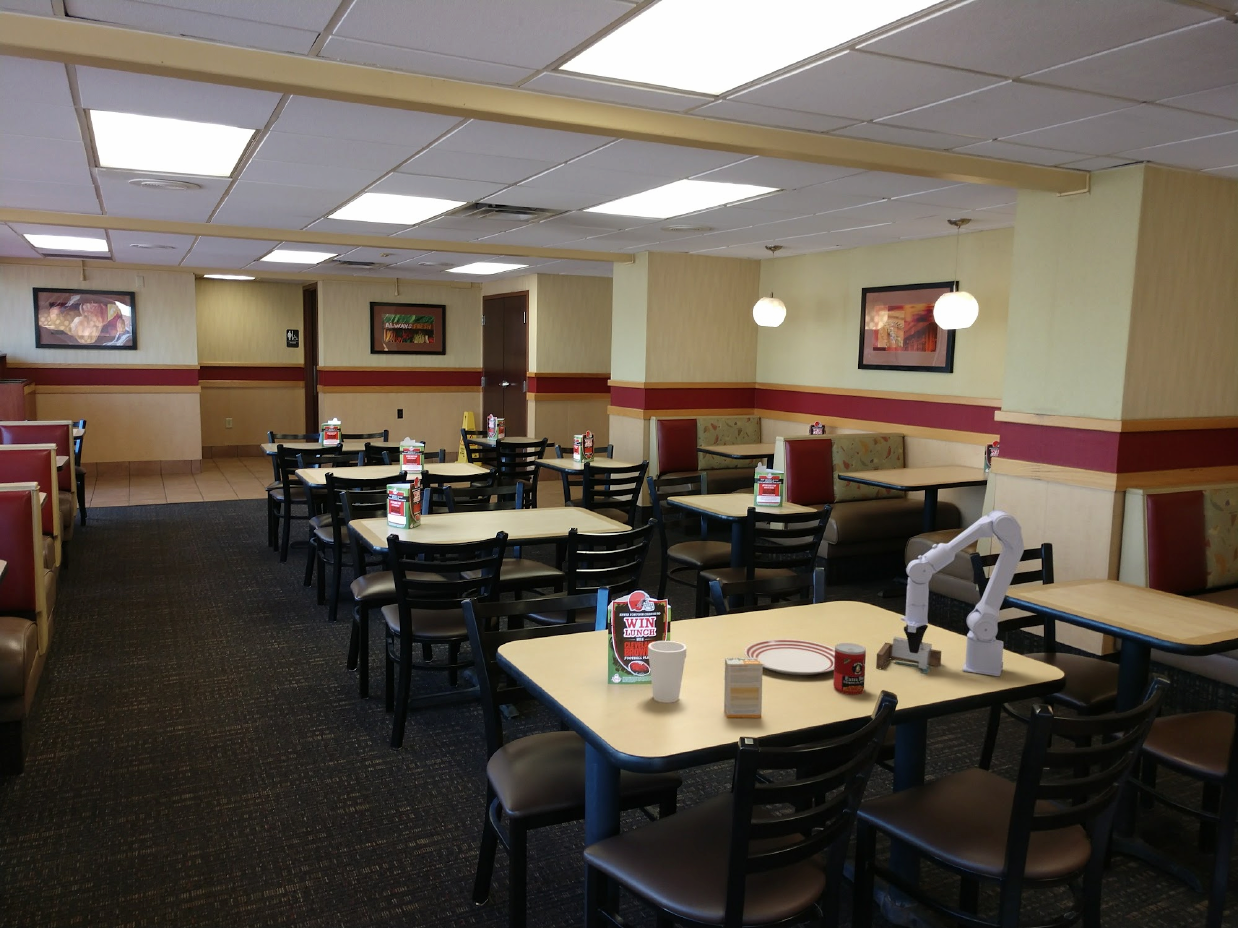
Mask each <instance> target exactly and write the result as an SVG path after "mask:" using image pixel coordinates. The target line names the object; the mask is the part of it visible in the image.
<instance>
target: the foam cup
mask: <svg viewBox="0 0 1238 928" xmlns="http://www.w3.org/2000/svg"><path fill="white" fill-rule="evenodd" d="M687 648H688V647H687V645H686V644H684V643H682V642H678V641H673V640H657V641H653V642H651V643H650V642H649V644H648V646H647V656H648V662H649V670H650V679H651V680H650V681H651V689H652V691H651V692H652V697H653V699H654V700H655V701H656V702H659V703H665V704H667V703H675V702H677V701H678V700H680V694H681V688H682V681H683V675H684V669H685V668H684V667H685V661H686V658H687Z"/></svg>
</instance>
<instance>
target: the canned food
mask: <svg viewBox="0 0 1238 928" xmlns="http://www.w3.org/2000/svg"><path fill="white" fill-rule="evenodd" d="M834 649H835V656H834V670H833V688H834V689H835V691H836V692H838V693H841V694H845V695H858V694H861V693H863V692H864V690H865V679H866V678H865V675H866V657H867V656H866V655H867V651H866V647H865V646H863V645H860V644H856V643H851V642H842V643H841V642H840V643H837V644H836V645H835V646H834Z"/></svg>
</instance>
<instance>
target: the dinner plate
mask: <svg viewBox="0 0 1238 928" xmlns="http://www.w3.org/2000/svg"><path fill="white" fill-rule="evenodd" d="M744 655H745V658H759V659H760V661H761V663H762V664H763V668H765V669H767V670H770V671H772V670H773V672H775V671H776V673H781V674H784V673H785V674H784V675H791V676H792V675H795V676H808V675H817V674H823V673H827V672H831V671H834V656H835V647H831V646H829V645H826V644H823V643H819V642H815V641H810V640H804V639H803V640H802V639H793V638H777V639H764V640H761V641H756V642H753V643H750V644H748V645H747V646H746V647H745V649H744Z"/></svg>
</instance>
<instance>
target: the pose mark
mask: <svg viewBox="0 0 1238 928" xmlns="http://www.w3.org/2000/svg"><path fill="white" fill-rule="evenodd" d="M898 663H899V665H906V666H910V667H911V666H912V667H917V668H918V666H919V663H912V662H906V661H899V660H898V661H897V660H894V664H898ZM930 667H931V665H930V666H929V665H928V666H927V668H926V669H923V668H921V671H920V673H921V674H926V675H927V674H928V673H929V671H930Z"/></svg>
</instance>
